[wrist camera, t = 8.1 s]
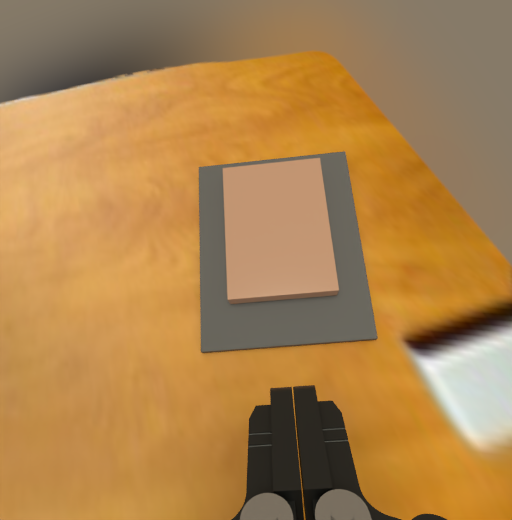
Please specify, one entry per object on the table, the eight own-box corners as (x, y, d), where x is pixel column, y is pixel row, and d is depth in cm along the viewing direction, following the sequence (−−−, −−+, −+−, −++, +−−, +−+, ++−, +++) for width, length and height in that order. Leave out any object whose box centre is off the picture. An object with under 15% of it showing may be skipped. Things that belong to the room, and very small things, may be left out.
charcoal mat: (375, 339, 35) (377, 338, 34) (202, 352, 36) (201, 351, 35) (344, 155, 42) (345, 151, 41) (200, 171, 43) (198, 167, 42)
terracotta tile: (339, 290, 34) (319, 157, 39) (227, 299, 34) (222, 168, 39) (336, 295, 36) (318, 168, 41) (231, 304, 36) (225, 178, 41)
